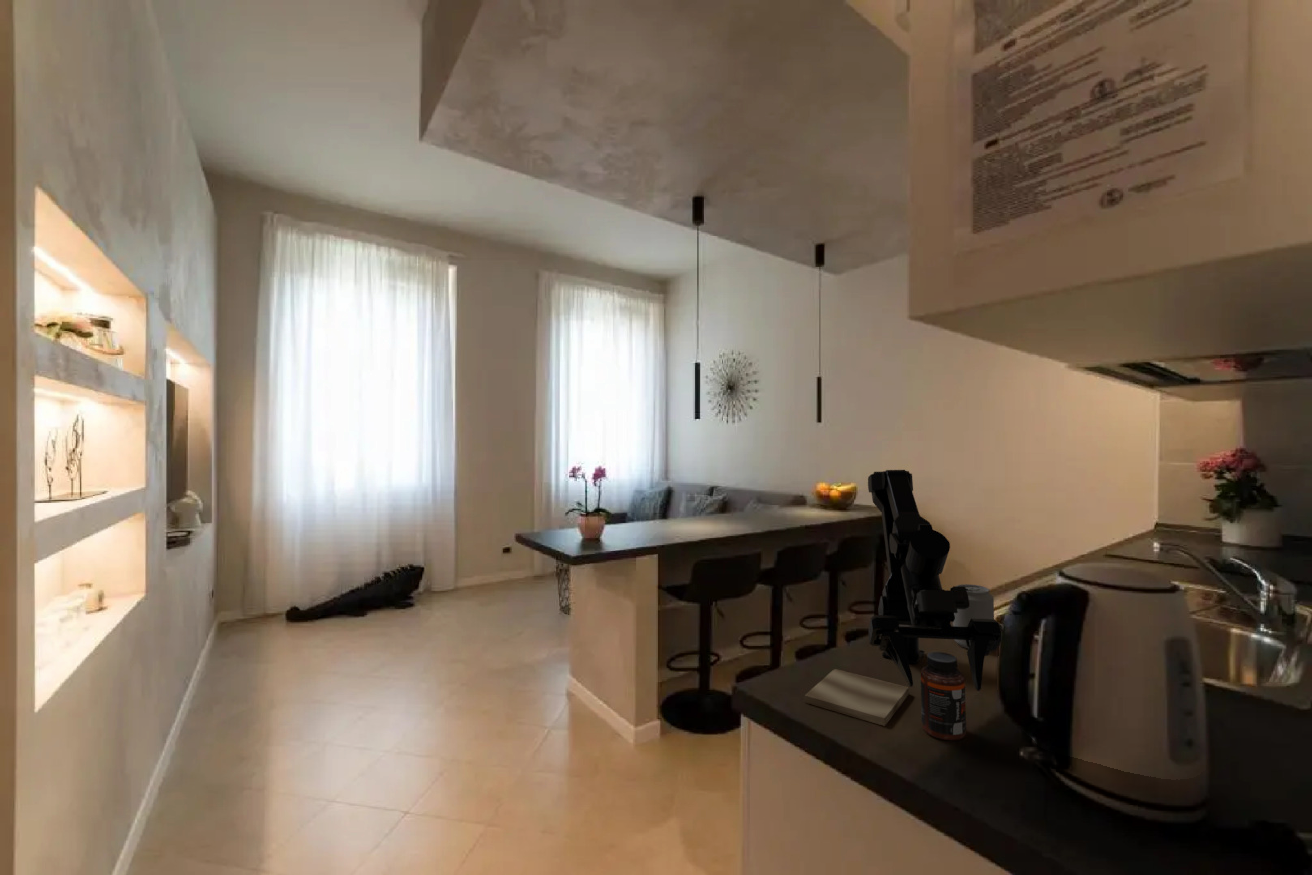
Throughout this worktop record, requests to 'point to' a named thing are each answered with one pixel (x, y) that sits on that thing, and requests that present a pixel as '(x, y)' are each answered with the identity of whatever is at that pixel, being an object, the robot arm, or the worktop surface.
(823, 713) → the worktop surface
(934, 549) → the robot arm
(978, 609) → the can
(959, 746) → the worktop surface
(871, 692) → the beige square board
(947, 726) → the supplement bottle
